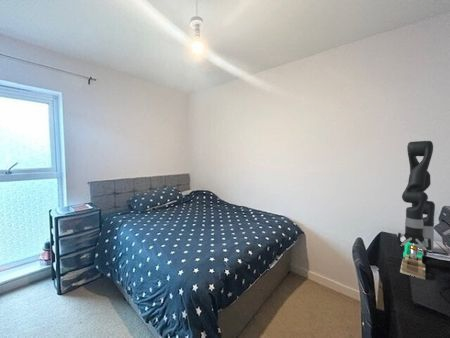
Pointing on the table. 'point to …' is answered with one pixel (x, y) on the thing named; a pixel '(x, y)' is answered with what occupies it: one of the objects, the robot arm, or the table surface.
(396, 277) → the table surface
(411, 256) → the lock pin
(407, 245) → the camera mount
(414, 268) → the dock board
